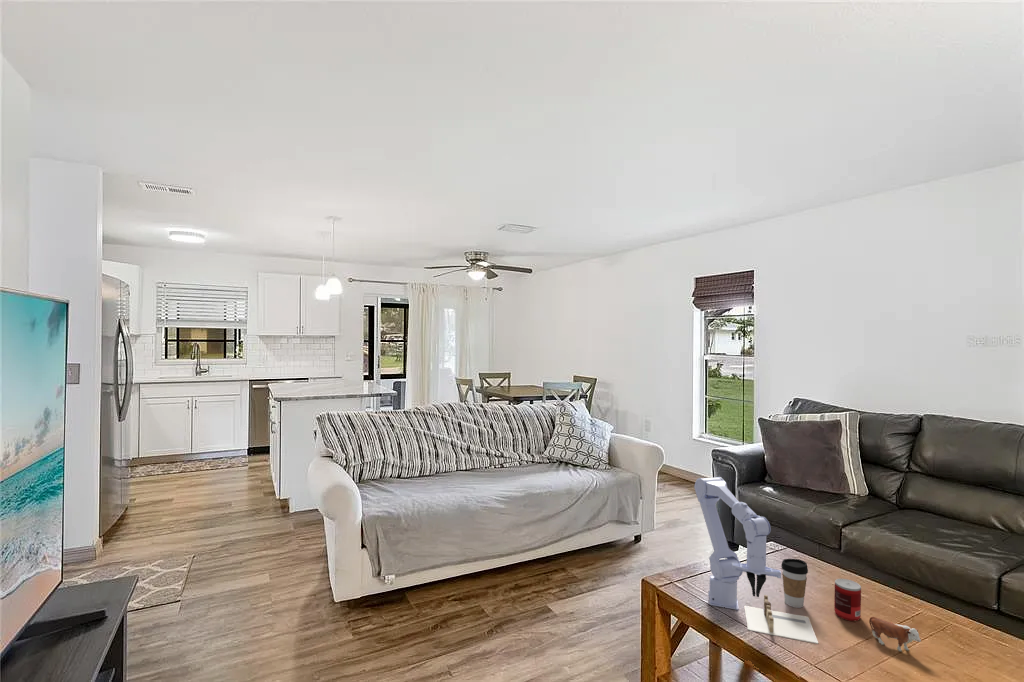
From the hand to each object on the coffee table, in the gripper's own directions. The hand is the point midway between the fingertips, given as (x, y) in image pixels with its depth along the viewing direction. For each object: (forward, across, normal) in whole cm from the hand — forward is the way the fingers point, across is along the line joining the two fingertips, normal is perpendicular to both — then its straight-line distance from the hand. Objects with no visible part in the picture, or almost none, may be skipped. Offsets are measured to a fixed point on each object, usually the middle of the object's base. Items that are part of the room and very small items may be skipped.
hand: (755, 595), depth 169 cm
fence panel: (+9, +4, +1) cm, 10 cm away
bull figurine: (+10, +40, +3) cm, 41 cm away
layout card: (+10, +8, +4) cm, 13 cm away
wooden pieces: (+10, +5, +10) cm, 15 cm away
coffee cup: (+10, +14, +21) cm, 27 cm away
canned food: (+10, +30, +19) cm, 37 cm away
